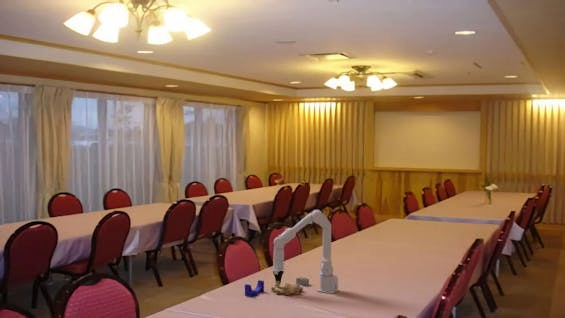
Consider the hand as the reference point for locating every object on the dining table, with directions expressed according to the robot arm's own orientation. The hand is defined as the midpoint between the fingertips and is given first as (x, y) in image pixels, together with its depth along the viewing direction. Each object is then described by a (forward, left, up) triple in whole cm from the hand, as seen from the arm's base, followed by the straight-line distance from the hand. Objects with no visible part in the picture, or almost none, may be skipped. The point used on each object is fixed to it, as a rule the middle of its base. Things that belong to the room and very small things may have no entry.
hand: (278, 284), depth 302 cm
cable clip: (+7, +12, -4) cm, 14 cm away
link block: (-4, -18, -4) cm, 19 cm away
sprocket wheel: (-5, -2, -3) cm, 6 cm away
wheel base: (-5, -2, -3) cm, 6 cm away
